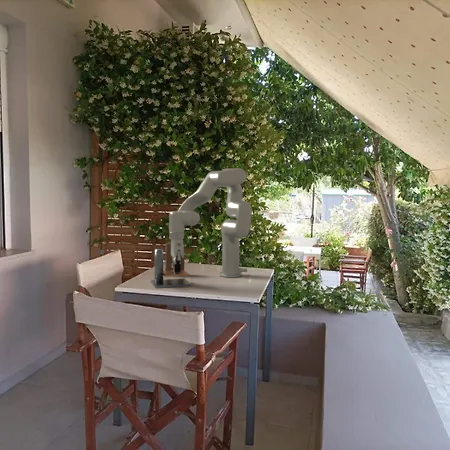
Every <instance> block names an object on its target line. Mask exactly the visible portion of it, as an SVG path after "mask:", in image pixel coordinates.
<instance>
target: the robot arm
mask: <svg viewBox="0 0 450 450" xmlns="http://www.w3.org/2000/svg"><path fill="white" fill-rule="evenodd" d="M246 179H247V173H246V171H245V170H244V169H243V168H241V167H240V168H238V167H236V168H231V167H230V168H224V169H222V170H211V171H209V172H208V173H207V175H206V176H205V177H204V178H203V180H202V182H201V183H200V185H199V187H198V188H197V190H196V191H195V192H194V193H193V194H192V195H190V196H189V197H188V198H186V199H185V201H183V202H182V203H181V205H180V207H179V209H178V210H177V211H175V210H174V211H173V210H172V211H170V212H169V214H168V215H169V217H168V218H169V219H168V222H169V223H168V224H169V225H168V227H169V228H168V230H169V231H168V232H169V233H168V234H169V235H168V237H169V240H170V243H171V256H172V261H173V263H172V268H173V271H174V272H181V258H184V259H185V249H184V248H185V247H184V240H183V239H185V226H195V225H197V224H198V223H199V222H200V220H201V217H200V214H199V213H197V212H196V211H194V210H195V209H197V208H198V207H200V206H202V205H205V204H206V203H208V202H209V201H211V199H212V197H213V196H214V194H215V193H216V191H217V190H218V189H219V187H220V188H221V187H222V188H225V187H226V191H227V196H226V205H225V214H226V215H227V216H228V217H230V218H236V219H227V220H224V221H223V222H222V223H221V226H220V232H221V240H222V249H221V250H222V252H221V253H222V254H221V255H222V258H221V259H222V261H221V262H222V263H221V265H222V266H221V267H222V268H221V269H222V271H221V272H219V276H220V277H222V278H239V277H240V278H241V277H242V275H243V274H242V273H247V272H248V269H247V268H242V267H240V241H239V239H245V238H247V236H248V235H249V234H250V229H251V223H252V222H251V221H252V213H253V209H252V207H251V206H252V205H251V204H250V203H249V202H248V201H245V200H243V192H244V191H243V188H242V184H243V183H244V182H245V181H246ZM176 257H178V258H176ZM180 257H181V258H180ZM174 258H175V264H174ZM176 259H177V260H176Z"/></svg>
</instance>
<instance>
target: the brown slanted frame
mask: <svg viewBox="0 0 450 450" xmlns="http://www.w3.org/2000/svg"><path fill="white" fill-rule="evenodd" d="M164 246H165V247H164V248H165V250H164V253H165V254H164V255H165V257H164V258H165V259H164V261H165V263H164V266H165V268H164V271H173V257H172V256H171V242H166V243H165V245H164ZM180 258H181V257H180ZM181 270H184V271H185V257H184V258H181Z"/></svg>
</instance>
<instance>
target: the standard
mask: <svg viewBox="0 0 450 450" xmlns="http://www.w3.org/2000/svg"><path fill="white" fill-rule="evenodd" d="M185 276H186V277H188V276H189V273H188V271H186V270H185V269H184V270H181V272H179V273H174V271H165V270H164V249H163V248H155V249H154V280H150V284H152V286H153V287H154V288H155V289H163V288H179V287H180V288H181V287H192V283H191V282H189V281H188V280H187V279H186V278H171V277H185ZM164 277H165V278H166V279H164ZM169 277H170V278H171V279H170V278H169ZM167 278H169V279H167Z"/></svg>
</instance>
